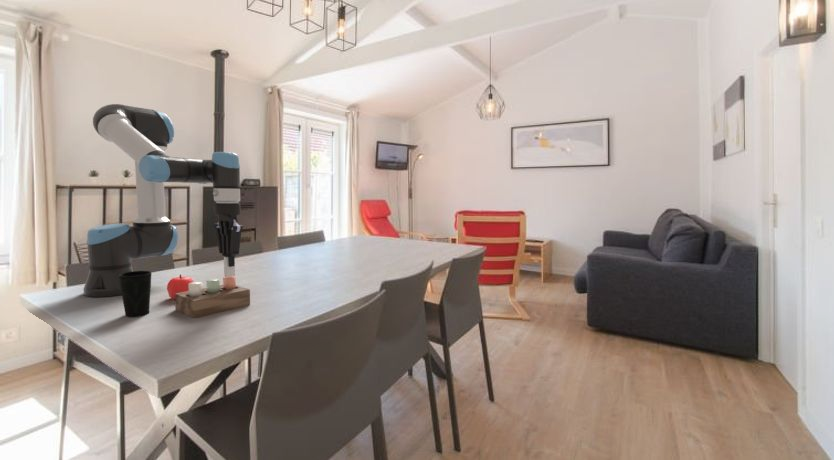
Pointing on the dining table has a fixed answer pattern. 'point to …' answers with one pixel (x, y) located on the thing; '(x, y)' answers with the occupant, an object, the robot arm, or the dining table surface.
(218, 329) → the dining table surface
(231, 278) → the coral button
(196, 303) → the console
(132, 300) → the cup
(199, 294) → the white egg
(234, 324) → the dining table surface
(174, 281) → the apple
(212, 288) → the pale green rounded piece
